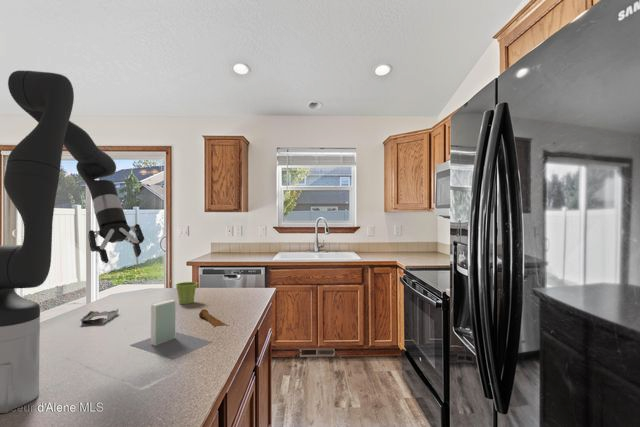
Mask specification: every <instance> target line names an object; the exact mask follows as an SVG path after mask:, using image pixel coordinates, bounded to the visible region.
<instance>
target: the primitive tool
mask: <svg viewBox="0 0 640 427" xmlns="http://www.w3.org/2000/svg"><path fill="white" fill-rule="evenodd" d="M198 315H199V318H201V319H204V320H205V321H206V322H208V323H209V324H211V326H212V327H213V328H217V327H224V326H226V327H230V326H229V324H226V323H225V322H223V321H221V320H220V319H218V318H216V317H215V316H213V315H212V314H210V313H209V311H208V309H202V310H201V311H200V312H199V314H198Z"/></svg>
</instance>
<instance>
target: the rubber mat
mask: <svg viewBox="0 0 640 427" xmlns="http://www.w3.org/2000/svg"><path fill="white" fill-rule="evenodd" d="M212 343H213V341H210V340H208V339H204V338H199V337H195V336H192V335H188V334H184V333H180V332H177V331H175V338H174V339H171V340H169V341H166V342H163V343H161V344H158V345H155V346H154V345H151V337H150V338H146V339H143V340H141V341H137V342H135V343H132V344H129V346H131V347H134V348H136V349H140V350H143V351H146V352H149V353H152V354H155V355H158V356H161V357H164V358H167V359H171V360H176V359H178V358H180V357H182V356H185V355H186V354H189V353H191V352H193V351H196V350H198V349H200V348H203V347H205V346H207V345H209V344H212Z"/></svg>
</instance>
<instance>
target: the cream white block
mask: <svg viewBox="0 0 640 427" xmlns="http://www.w3.org/2000/svg"><path fill="white" fill-rule="evenodd" d="M150 305H151V306H150V338H151V345H154V346H155V345H158V344H161V343H163V342H166V341H169V340H171V339H174V338H175V332H176V315H177V314H176V311H177V310H176V309H177V308H176V306H177V304H176V299H175V300H174V299H169V300H165V301H161V302H157V303H154V304H150Z"/></svg>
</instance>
